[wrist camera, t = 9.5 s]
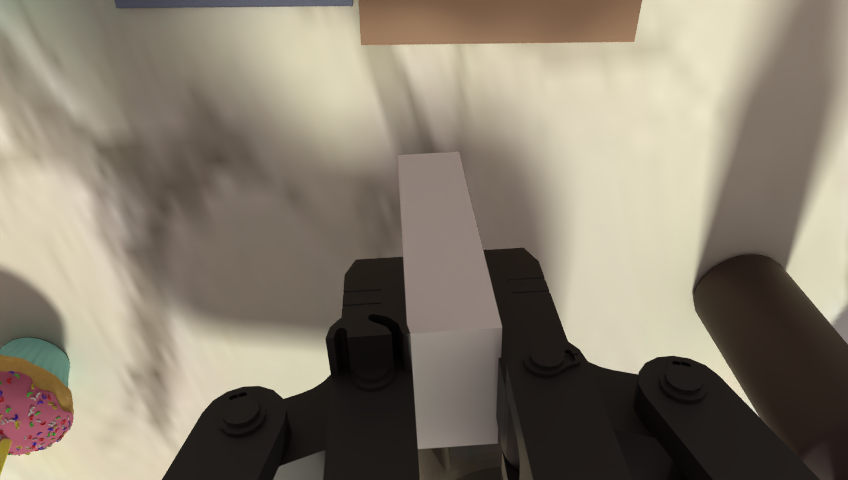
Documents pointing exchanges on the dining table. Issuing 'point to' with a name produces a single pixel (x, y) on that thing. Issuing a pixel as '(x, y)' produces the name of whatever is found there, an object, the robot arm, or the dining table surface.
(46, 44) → the dining table surface
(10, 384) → the cupcake
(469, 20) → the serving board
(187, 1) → the mat
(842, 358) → the bottle
